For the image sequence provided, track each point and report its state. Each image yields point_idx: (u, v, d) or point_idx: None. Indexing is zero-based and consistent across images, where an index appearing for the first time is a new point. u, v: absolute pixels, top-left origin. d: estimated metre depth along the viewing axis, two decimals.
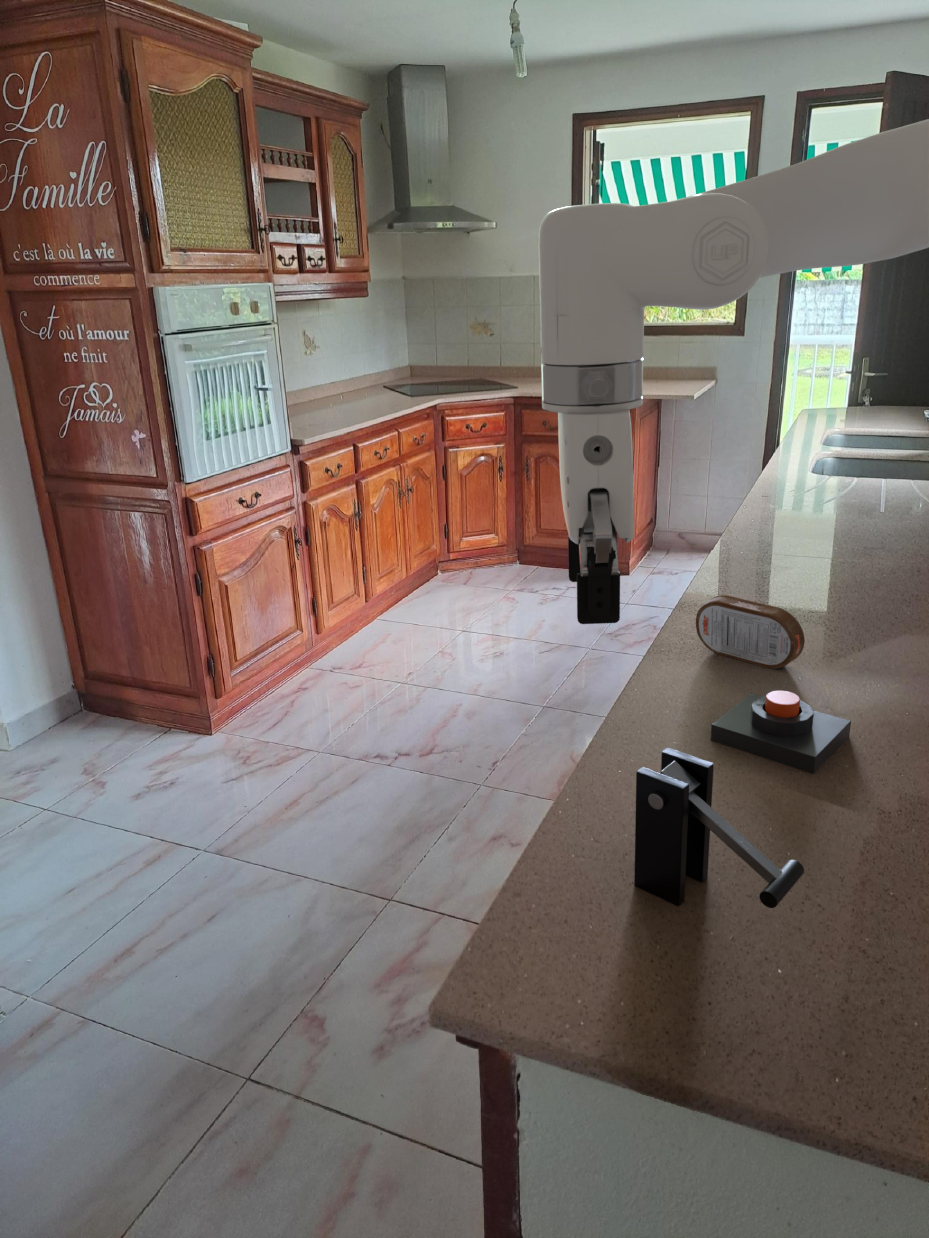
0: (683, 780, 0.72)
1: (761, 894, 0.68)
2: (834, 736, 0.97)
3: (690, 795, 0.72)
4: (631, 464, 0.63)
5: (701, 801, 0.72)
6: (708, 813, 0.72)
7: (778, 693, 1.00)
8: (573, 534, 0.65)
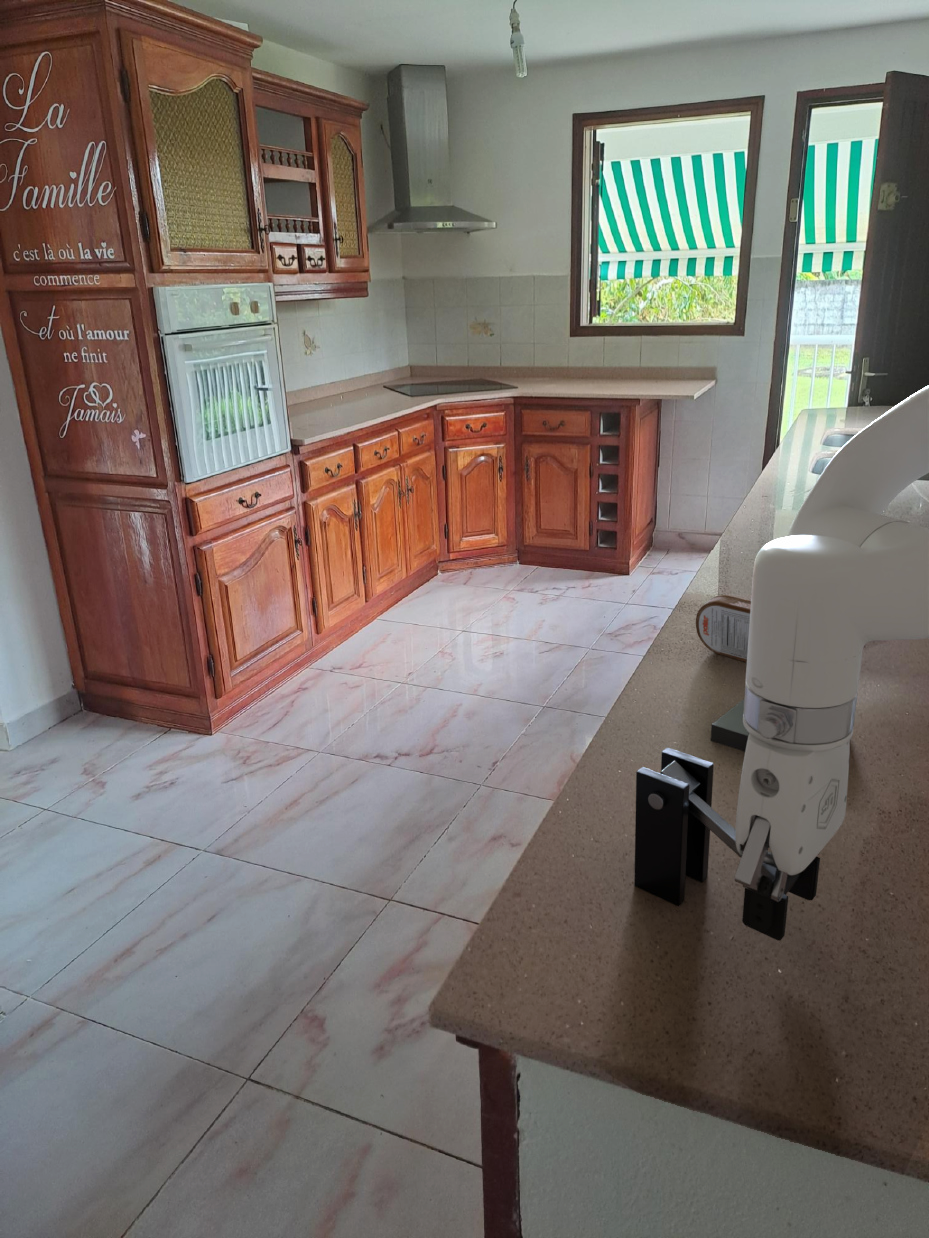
0: (683, 780, 0.72)
1: None
2: None
3: (690, 795, 0.72)
4: (799, 807, 0.61)
5: (701, 801, 0.72)
6: (708, 813, 0.72)
7: None
8: (736, 846, 0.65)
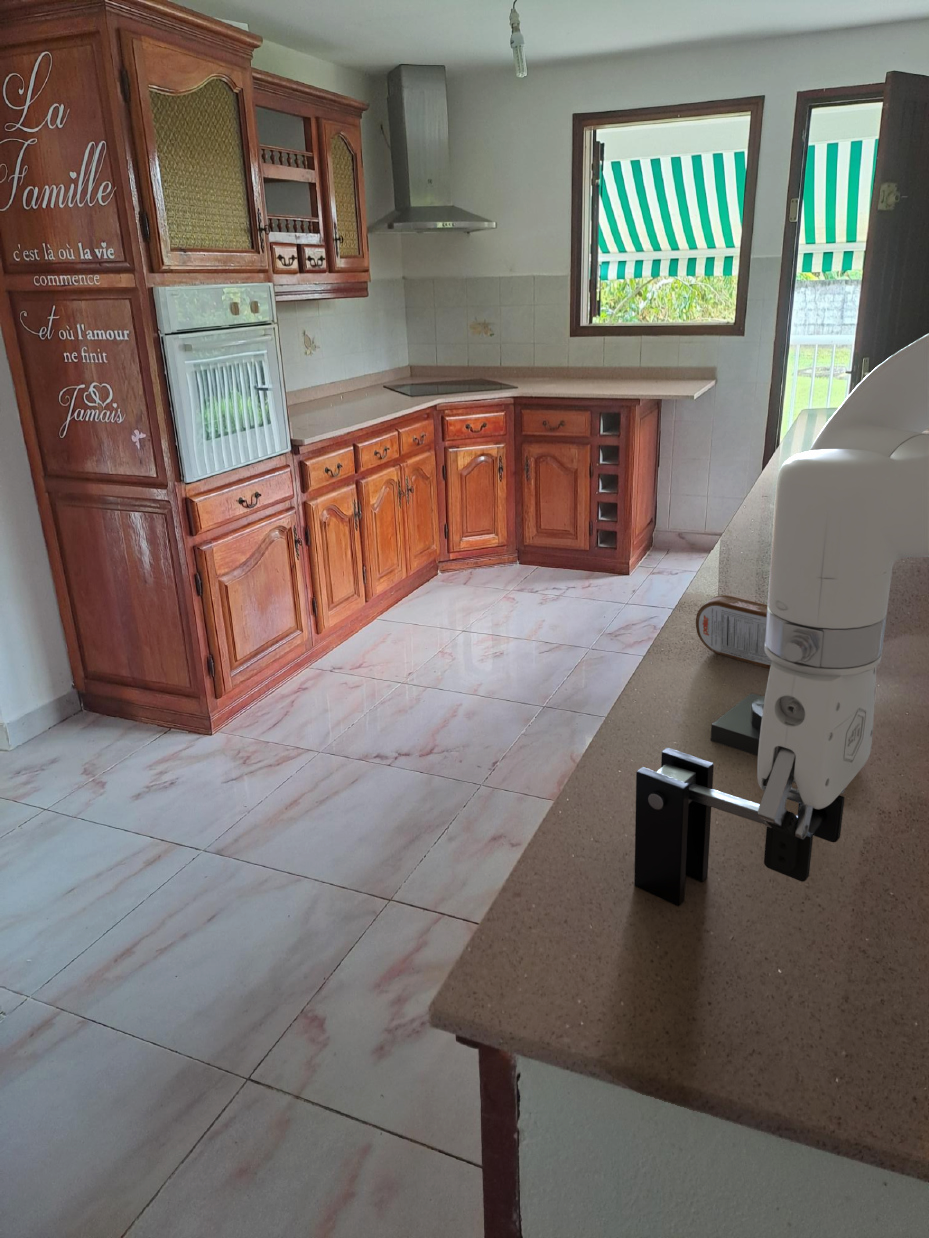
0: (677, 774, 0.73)
1: None
2: None
3: (689, 786, 0.72)
4: (826, 735, 0.58)
5: (702, 787, 0.72)
6: (711, 794, 0.71)
7: None
8: (758, 781, 0.62)
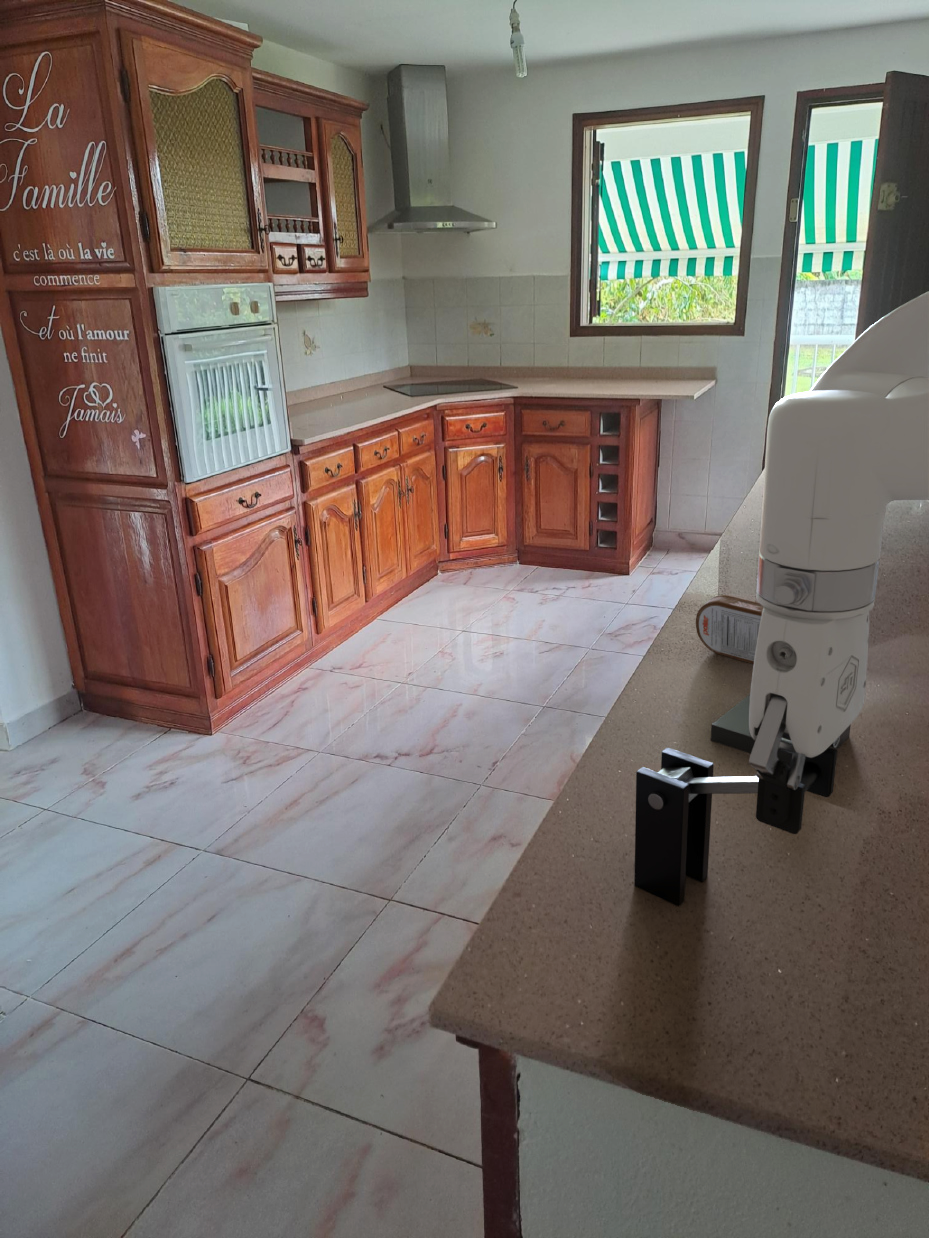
0: (672, 773, 0.73)
1: None
2: None
3: (687, 780, 0.72)
4: (818, 680, 0.57)
5: (699, 778, 0.72)
6: (707, 781, 0.71)
7: None
8: (750, 730, 0.61)
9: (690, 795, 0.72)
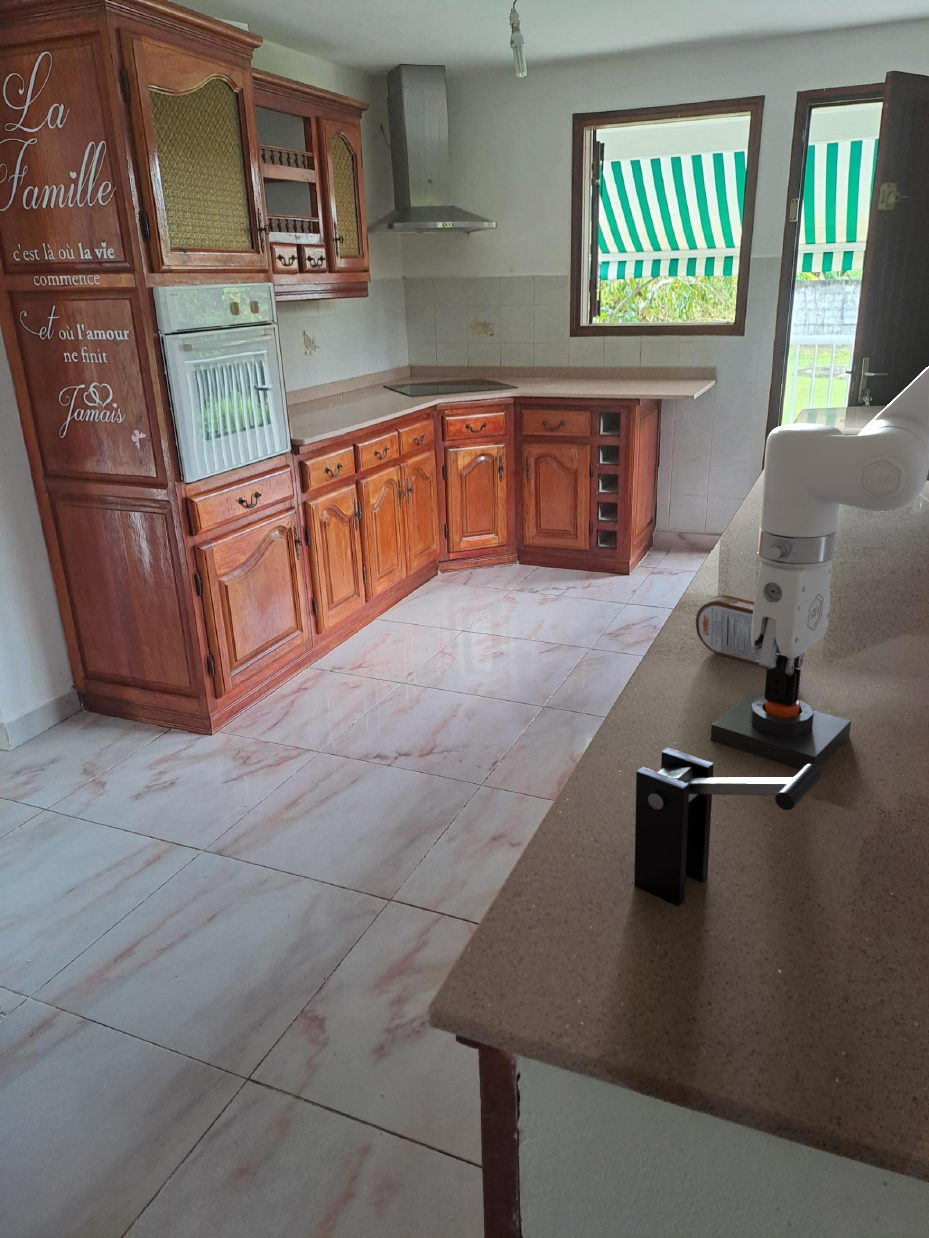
0: (673, 773, 0.73)
1: (776, 801, 0.64)
2: (834, 736, 0.97)
3: (687, 780, 0.72)
4: (795, 607, 0.90)
5: (699, 779, 0.72)
6: (707, 781, 0.71)
7: None
8: None
9: (690, 795, 0.72)
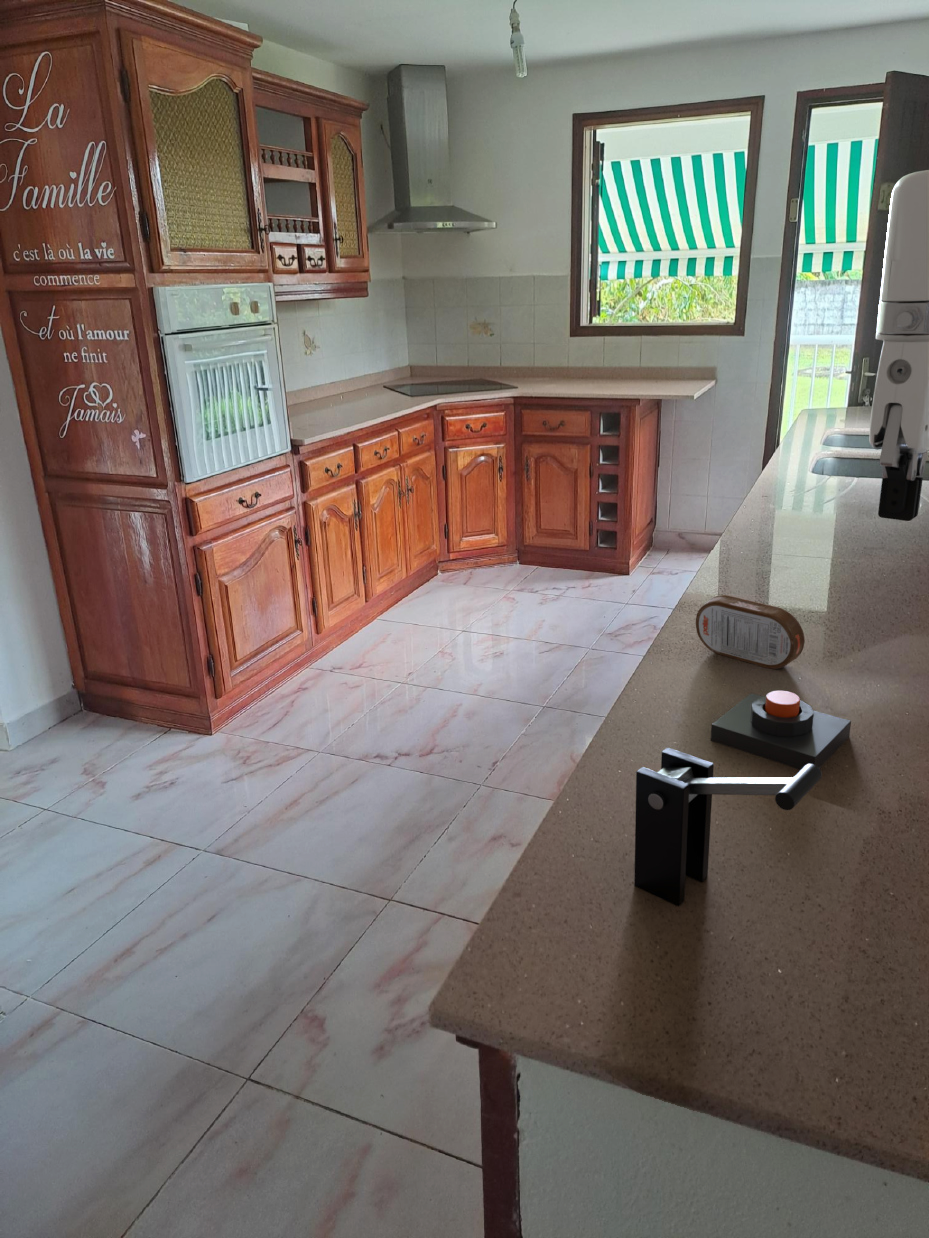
0: (673, 773, 0.73)
1: (776, 801, 0.64)
2: (834, 736, 0.97)
3: (687, 780, 0.72)
4: (927, 386, 0.77)
5: (699, 779, 0.72)
6: (707, 781, 0.71)
7: (778, 693, 1.00)
8: (870, 439, 0.81)
9: (690, 795, 0.72)
